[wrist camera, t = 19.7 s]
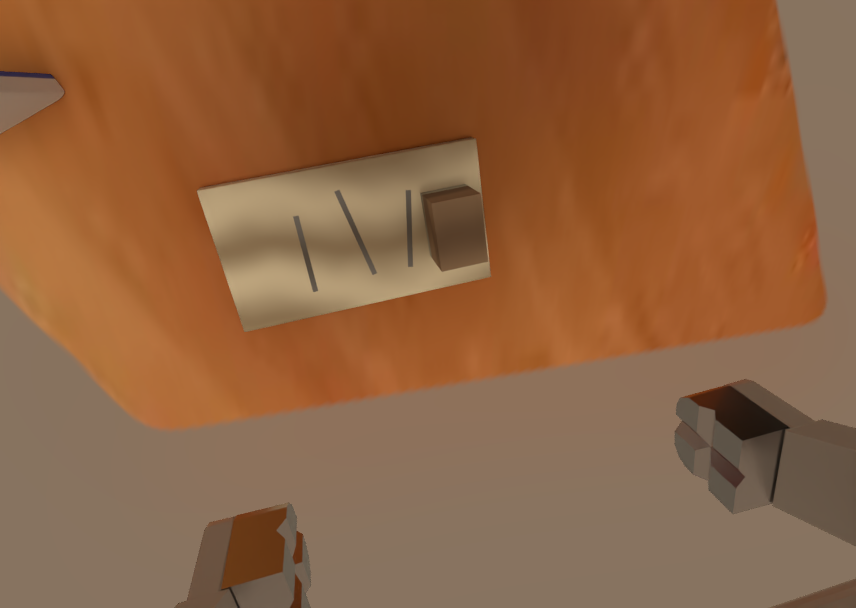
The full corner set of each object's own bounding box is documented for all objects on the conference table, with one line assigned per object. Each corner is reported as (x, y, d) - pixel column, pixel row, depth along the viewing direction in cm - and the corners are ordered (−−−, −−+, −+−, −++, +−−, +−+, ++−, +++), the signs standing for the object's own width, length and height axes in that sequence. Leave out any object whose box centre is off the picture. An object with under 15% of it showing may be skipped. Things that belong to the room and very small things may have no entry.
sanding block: (420, 192, 38) (431, 203, 35) (464, 183, 39) (480, 193, 35) (430, 255, 40) (441, 271, 37) (472, 246, 41) (488, 261, 37)
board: (200, 187, 36) (196, 190, 35) (471, 137, 39) (476, 138, 37) (246, 325, 41) (244, 331, 39) (486, 272, 43) (490, 276, 42)
